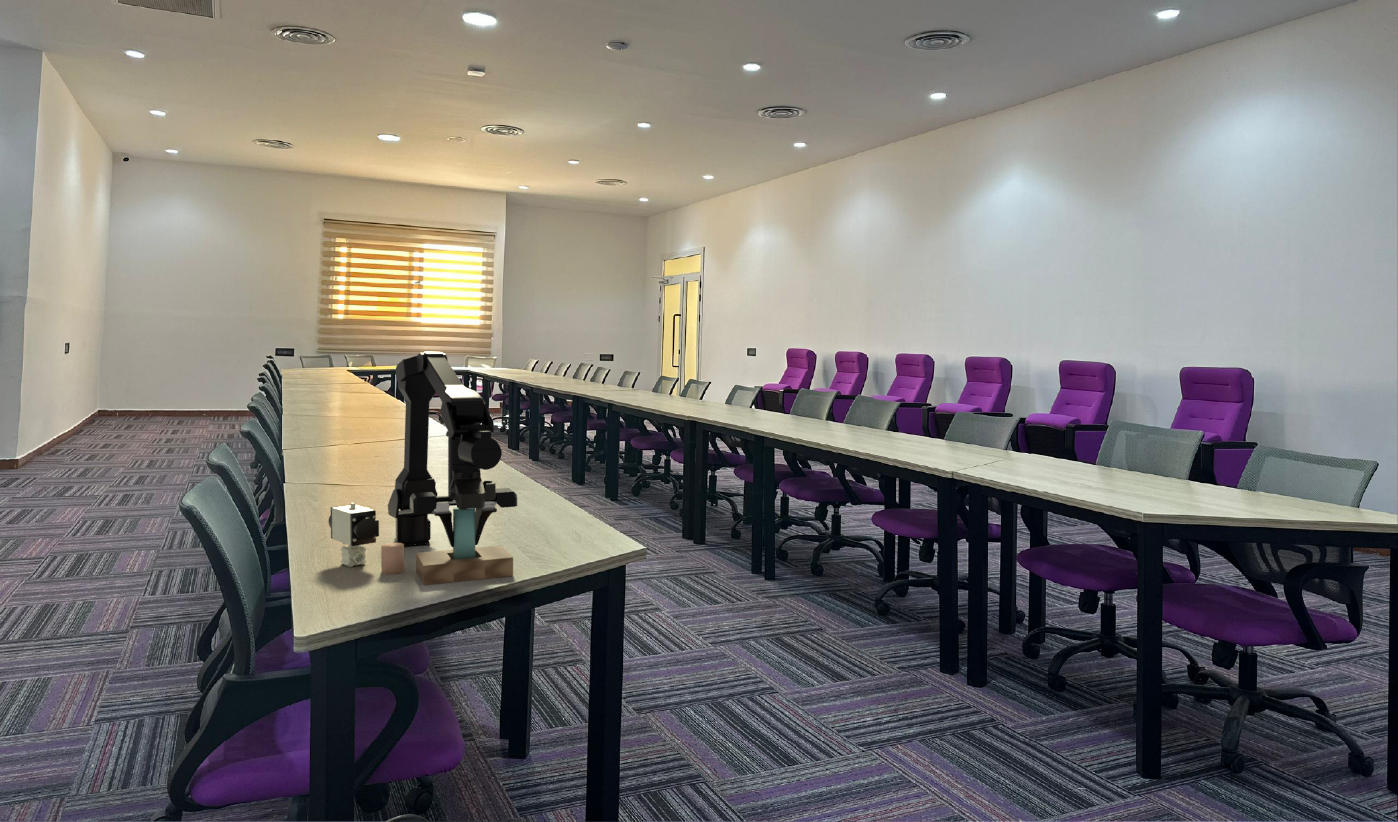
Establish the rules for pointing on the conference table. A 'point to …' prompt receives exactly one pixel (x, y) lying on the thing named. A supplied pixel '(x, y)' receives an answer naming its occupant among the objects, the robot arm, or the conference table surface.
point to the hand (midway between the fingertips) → (464, 545)
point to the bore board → (463, 565)
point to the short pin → (392, 558)
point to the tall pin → (464, 533)
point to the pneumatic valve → (353, 531)
